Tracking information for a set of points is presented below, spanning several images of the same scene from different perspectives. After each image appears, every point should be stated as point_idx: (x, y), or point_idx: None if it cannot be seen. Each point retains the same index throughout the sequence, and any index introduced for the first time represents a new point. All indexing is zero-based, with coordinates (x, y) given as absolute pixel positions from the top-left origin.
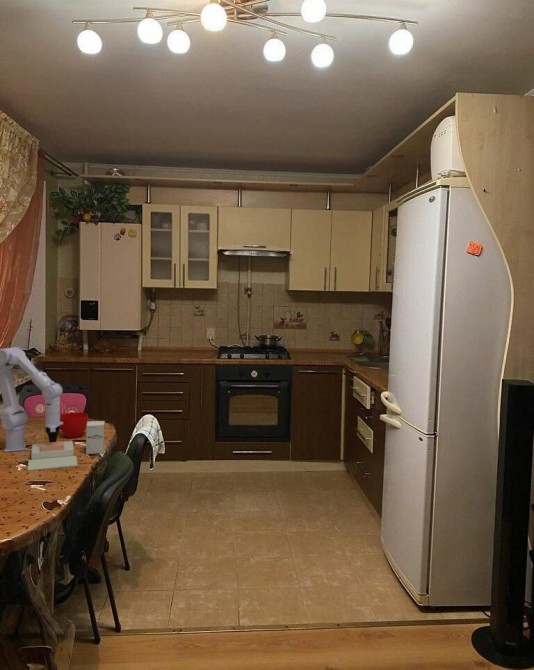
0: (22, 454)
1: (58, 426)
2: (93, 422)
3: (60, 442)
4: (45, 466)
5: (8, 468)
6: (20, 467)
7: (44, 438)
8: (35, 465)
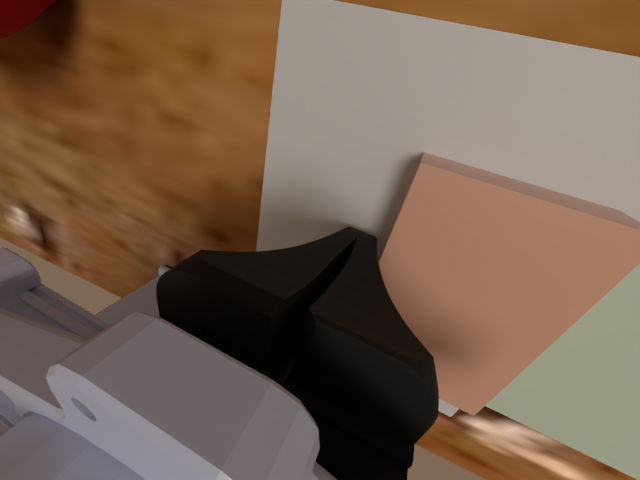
0: None
1: (196, 301)
2: None
3: (453, 225)
4: None
5: (498, 477)
6: (537, 456)
7: (82, 155)
8: (619, 432)
